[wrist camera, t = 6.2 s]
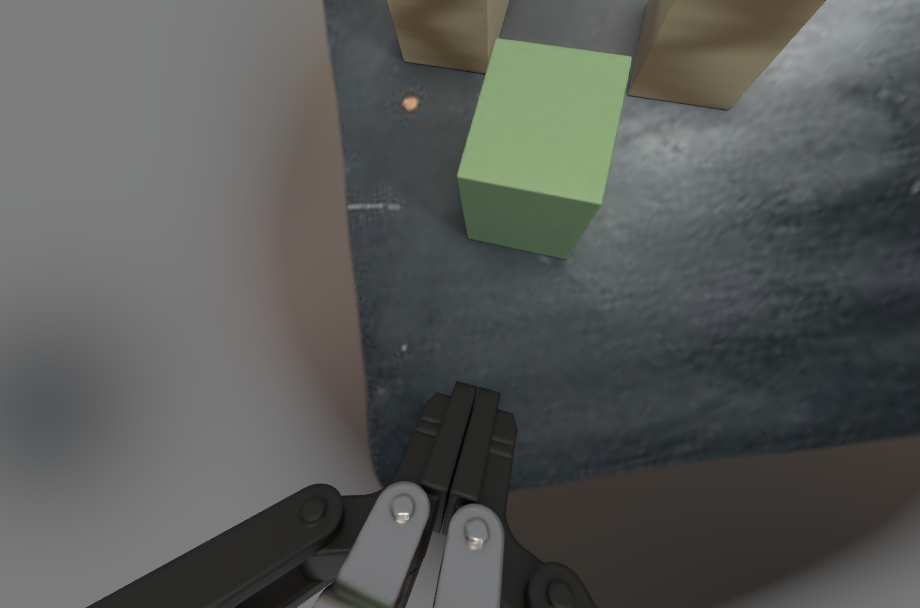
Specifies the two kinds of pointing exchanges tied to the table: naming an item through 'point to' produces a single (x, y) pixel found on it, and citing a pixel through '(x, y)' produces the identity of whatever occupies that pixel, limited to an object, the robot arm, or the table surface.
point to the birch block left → (448, 31)
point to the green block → (541, 145)
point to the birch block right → (712, 47)
